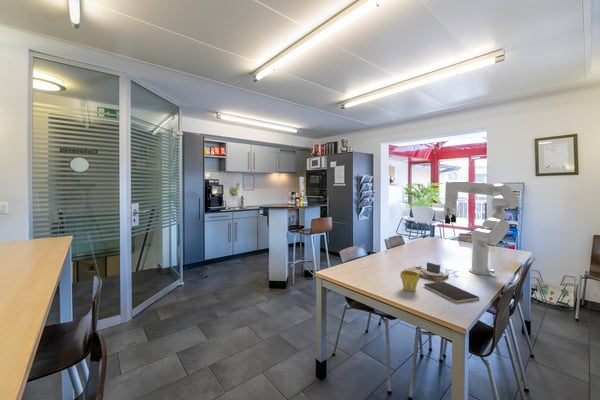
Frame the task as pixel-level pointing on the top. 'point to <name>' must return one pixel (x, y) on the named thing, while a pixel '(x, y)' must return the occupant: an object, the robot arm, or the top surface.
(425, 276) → the levelling base
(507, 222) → the robot arm
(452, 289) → the hardcover book
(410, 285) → the plant pot
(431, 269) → the cam dial
